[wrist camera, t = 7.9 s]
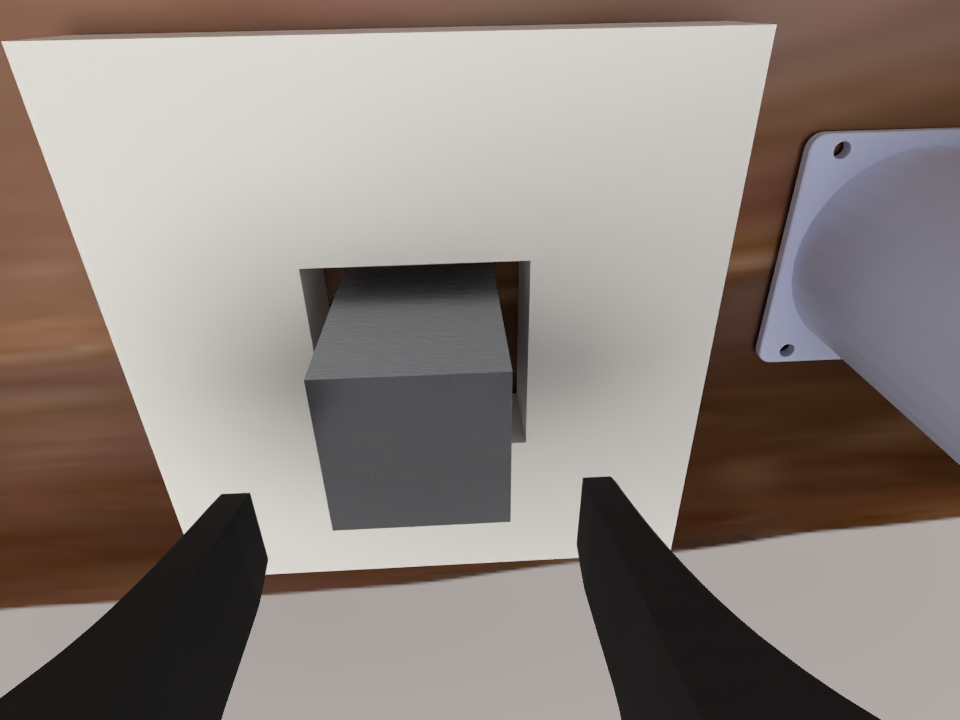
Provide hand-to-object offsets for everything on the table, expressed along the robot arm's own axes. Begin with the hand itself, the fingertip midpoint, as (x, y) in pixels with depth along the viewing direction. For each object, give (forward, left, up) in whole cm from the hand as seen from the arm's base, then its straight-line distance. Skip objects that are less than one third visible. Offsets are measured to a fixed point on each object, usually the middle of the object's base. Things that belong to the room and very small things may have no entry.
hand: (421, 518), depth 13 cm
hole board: (0, 0, -9) cm, 9 cm away
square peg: (0, -1, -9) cm, 9 cm away
